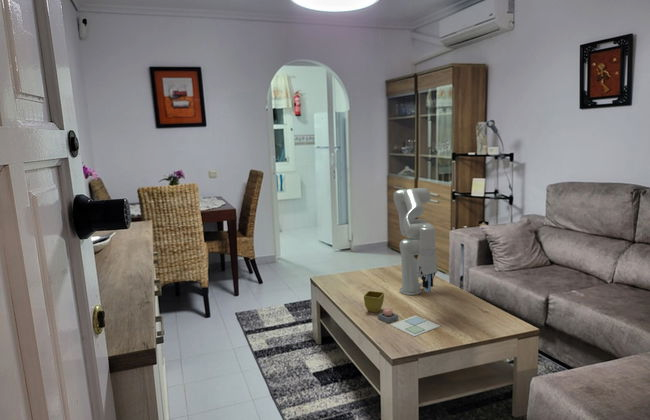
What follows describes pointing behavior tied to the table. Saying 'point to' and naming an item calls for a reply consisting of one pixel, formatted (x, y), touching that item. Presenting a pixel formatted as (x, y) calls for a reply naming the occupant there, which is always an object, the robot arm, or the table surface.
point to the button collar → (388, 319)
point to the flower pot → (373, 301)
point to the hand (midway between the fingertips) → (427, 286)
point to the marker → (428, 283)
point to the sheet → (415, 325)
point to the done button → (388, 312)
